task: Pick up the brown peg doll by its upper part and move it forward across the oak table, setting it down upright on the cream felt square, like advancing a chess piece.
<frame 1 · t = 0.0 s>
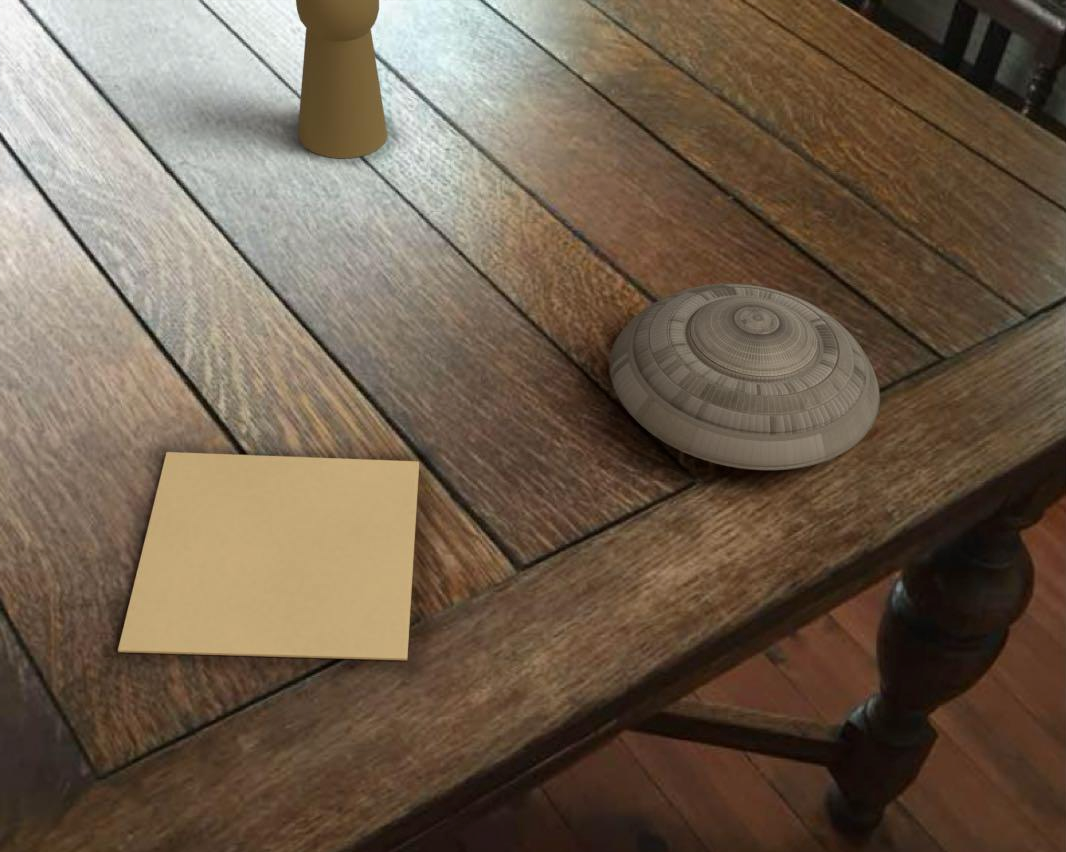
flying saucer: (739, 398, 77), on the table
brown peg doll: (342, 136, 92), on the table
felt square: (279, 551, 66), on the table
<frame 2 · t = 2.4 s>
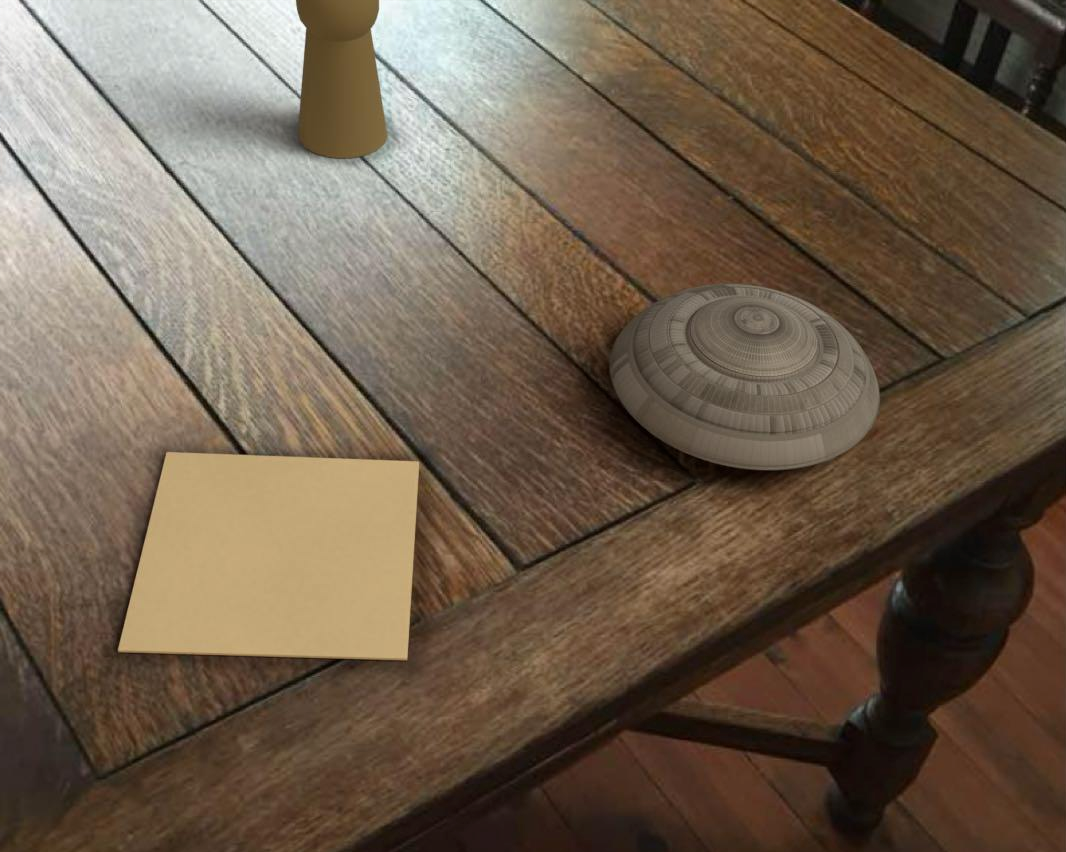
nothing on the table moved.
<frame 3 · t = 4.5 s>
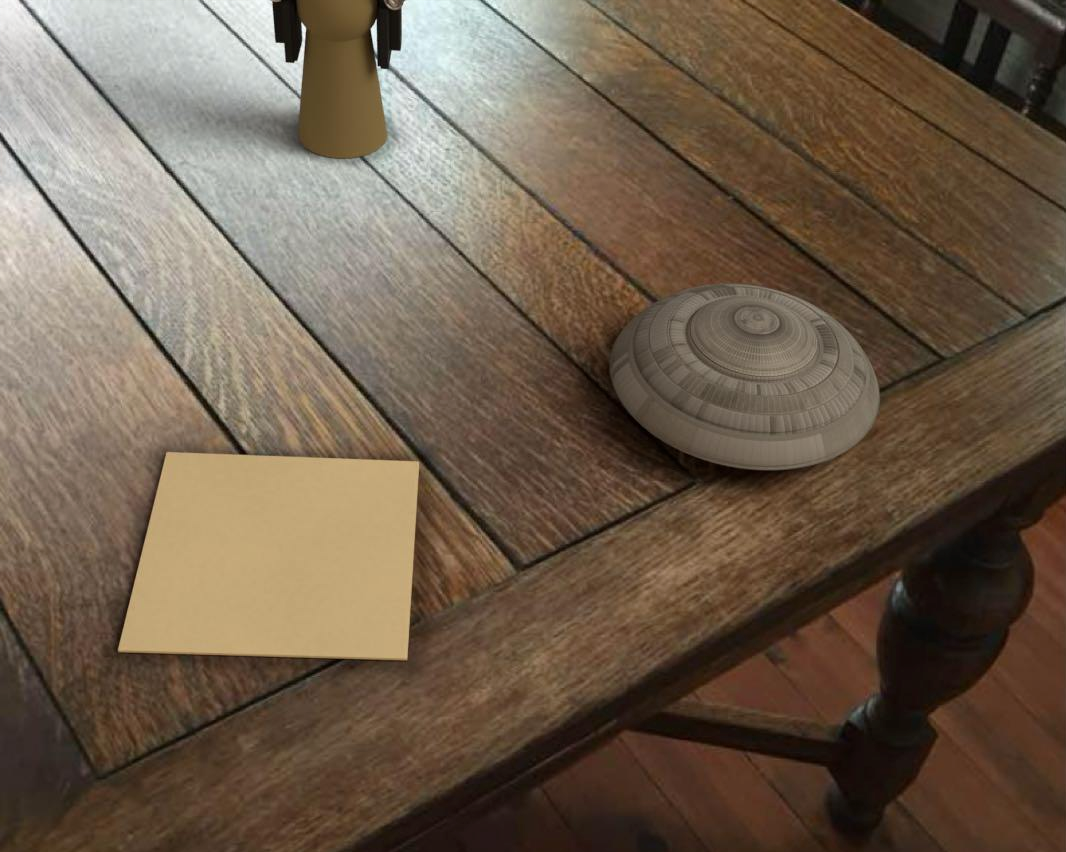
hand: (339, 53, 88), 6 cm above the table, tool pointing down, fingers closed on brown peg doll, 5 cm apart
brown peg doll: (342, 136, 92), on the table, touching gripper
everything else where it was.
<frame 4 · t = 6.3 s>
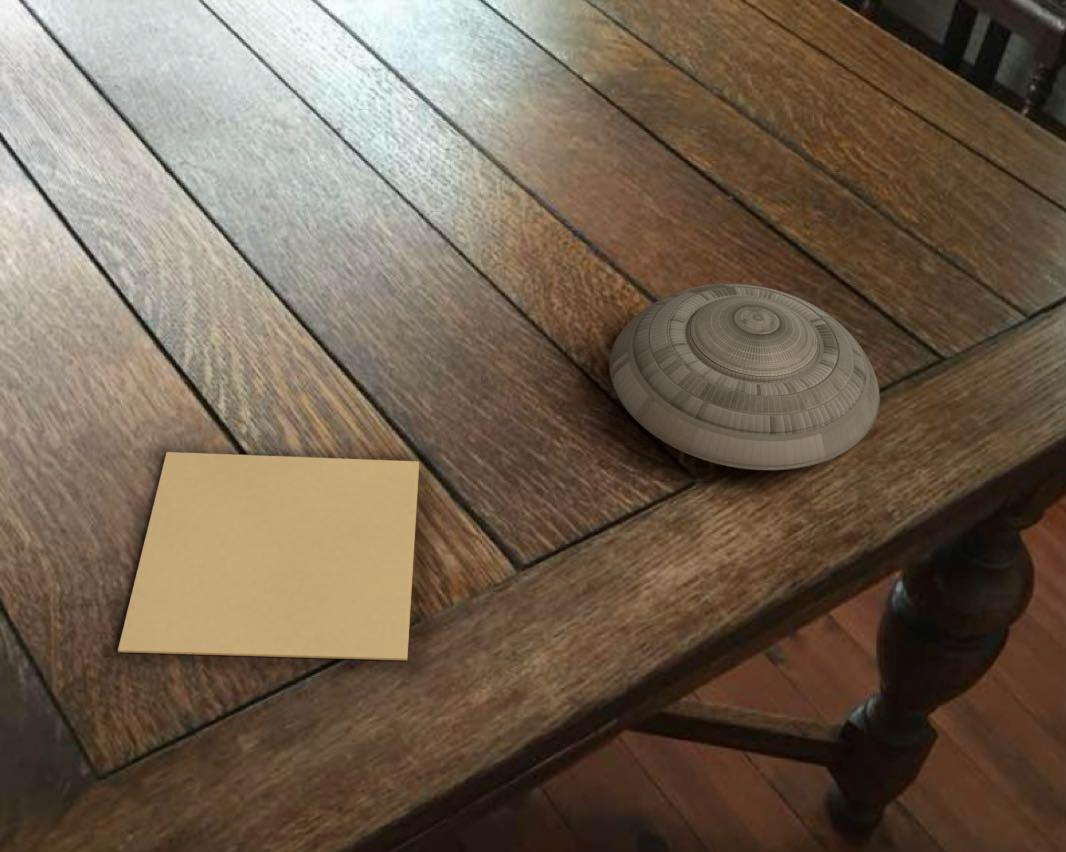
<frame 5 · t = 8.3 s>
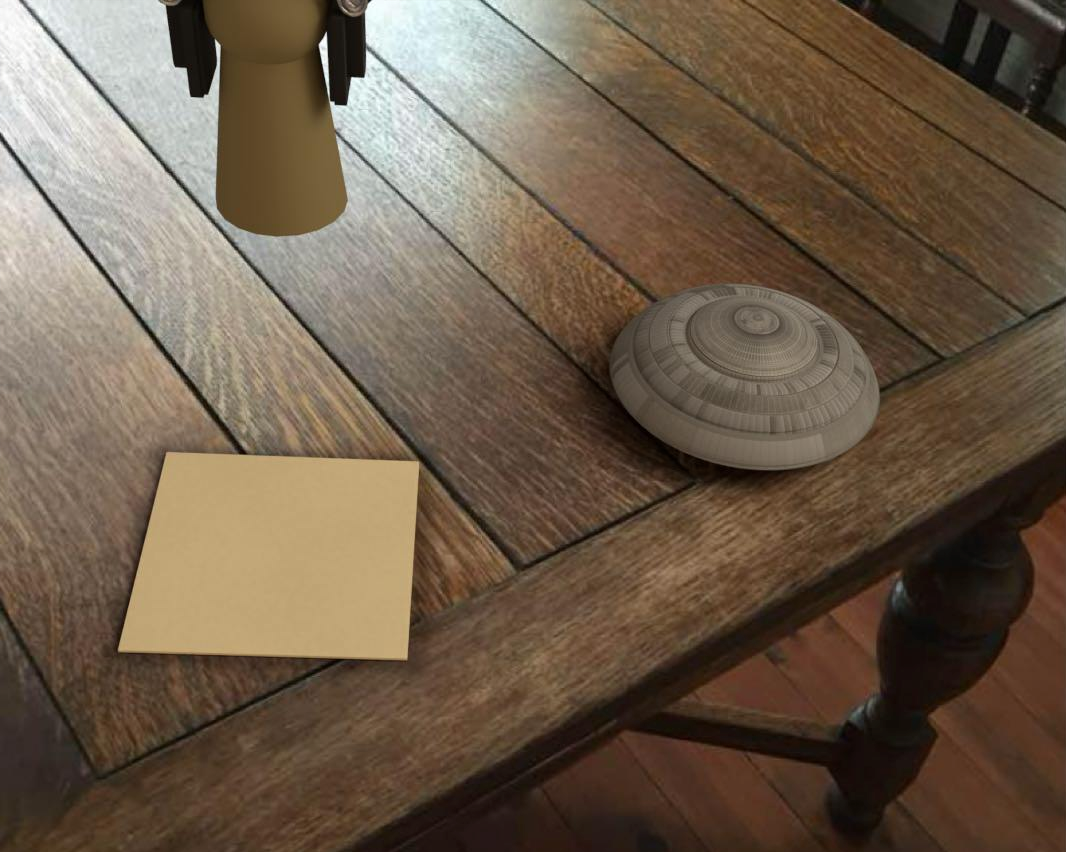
hand: (272, 81, 59), 19 cm above the table, tool pointing down, fingers closed on brown peg doll, 5 cm apart
brown peg doll: (282, 202, 63), point 13 cm above the table, touching gripper
everything else where it was.
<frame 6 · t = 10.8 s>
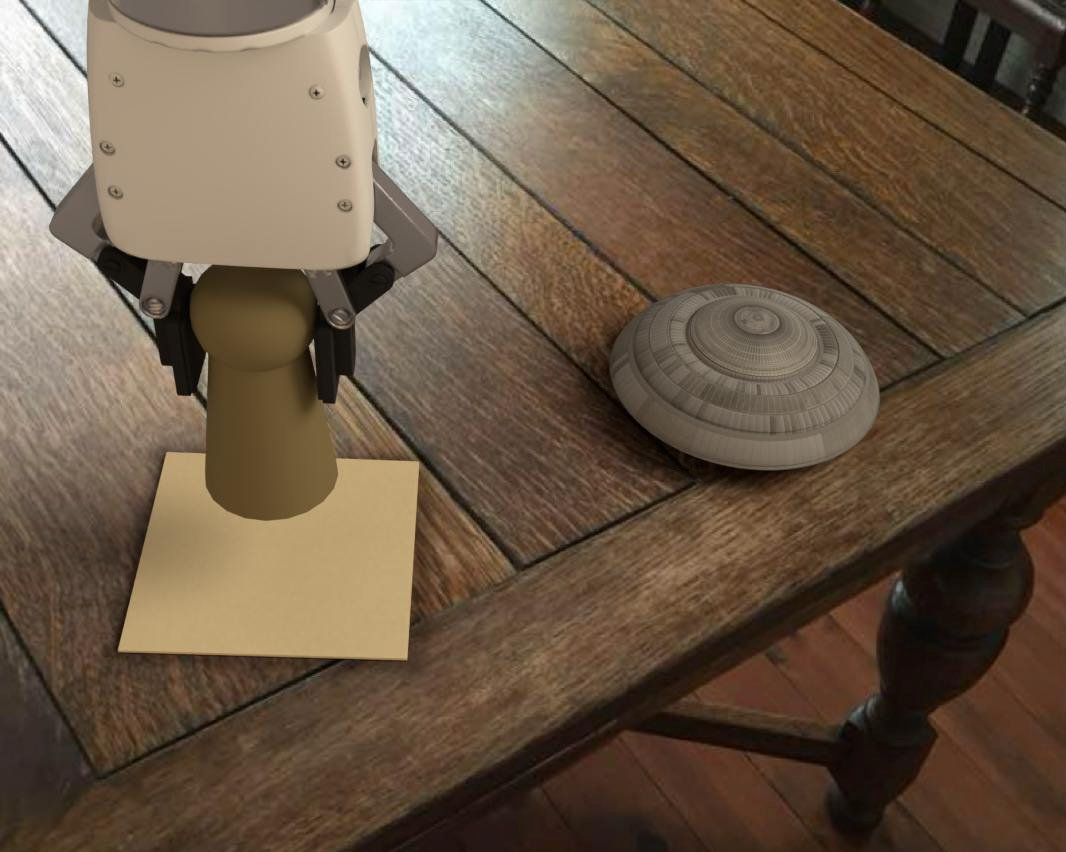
hand: (261, 375, 58), 11 cm above the table, tool pointing down, fingers closed on brown peg doll, 5 cm apart
brown peg doll: (272, 476, 62), point 5 cm above the table, touching gripper
everything else where it was.
when the fingers open (6 cm above the table, at t = 12.5 s): brown peg doll stays where it is, resting on felt square.
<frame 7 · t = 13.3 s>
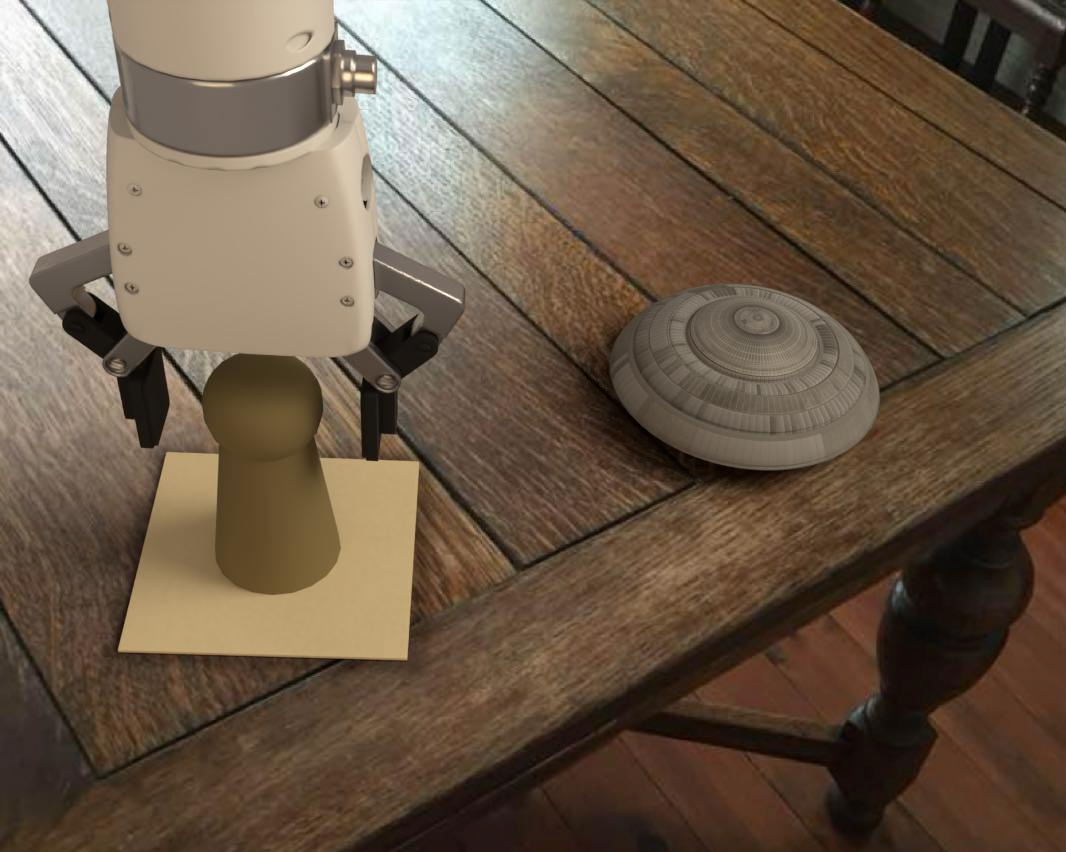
hand: (265, 433, 61), 8 cm above the table, tool pointing down, fingers open, 9 cm apart
brown peg doll: (278, 550, 66), resting on felt square
everything else where it was.
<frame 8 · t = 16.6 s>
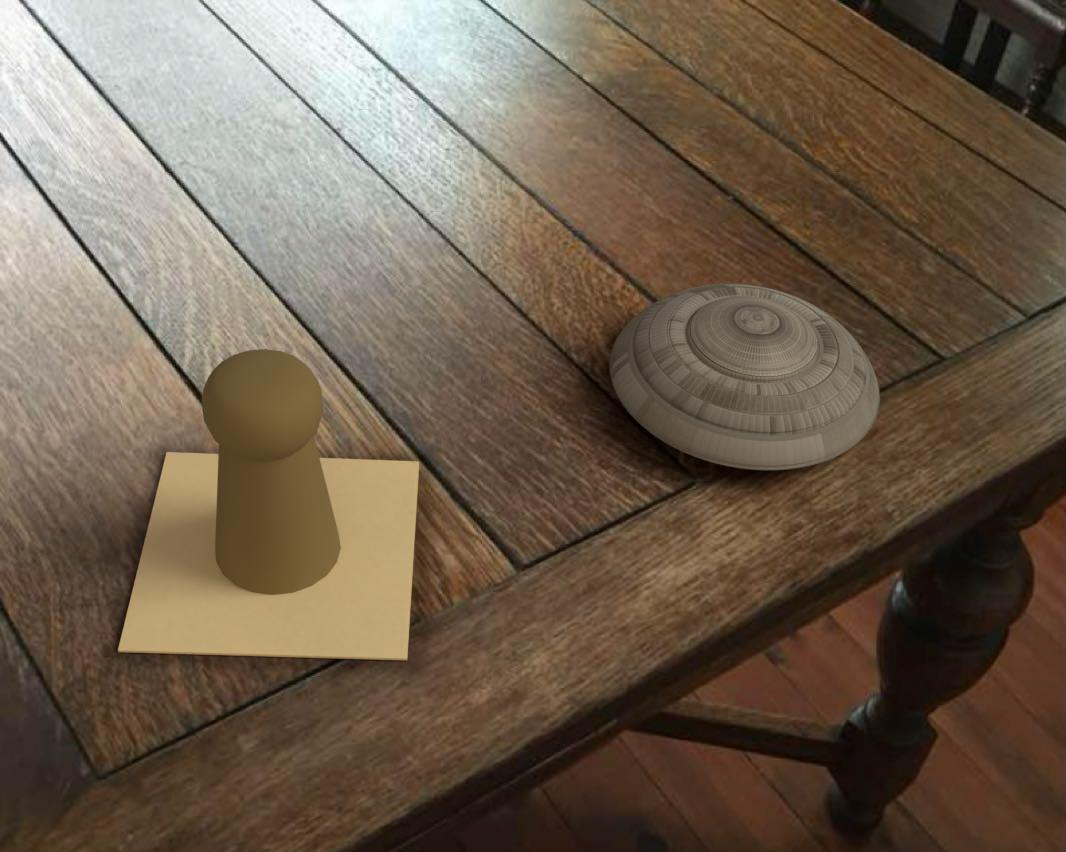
nothing on the table moved.
at the end: brown peg doll inside the target area on the felt square (0.1 cm from its centre), point 0.0 cm above the felt square's base; brown peg doll tilted 0° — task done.
